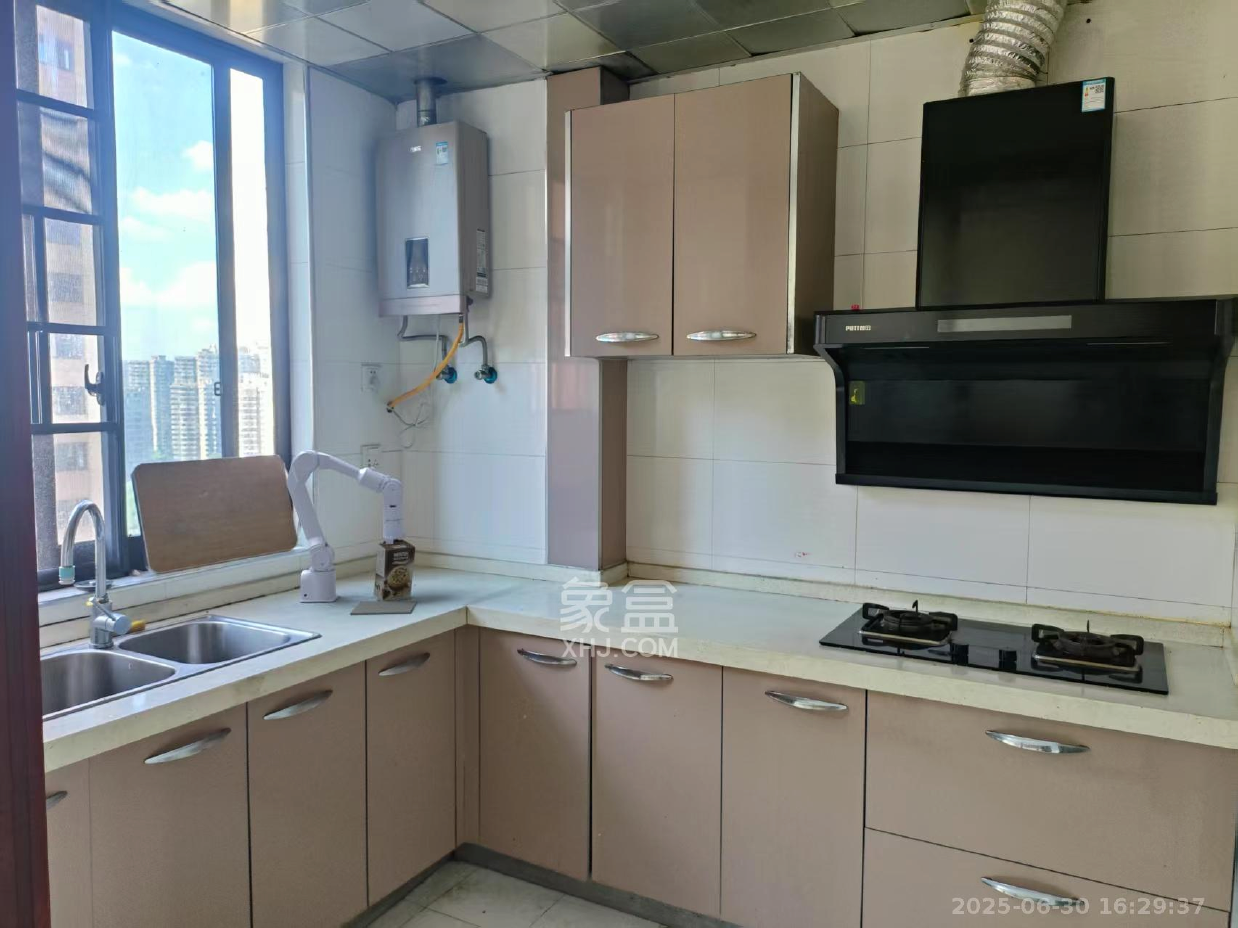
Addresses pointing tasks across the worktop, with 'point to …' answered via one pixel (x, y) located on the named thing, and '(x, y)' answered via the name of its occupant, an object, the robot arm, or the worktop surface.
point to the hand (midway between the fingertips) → (393, 564)
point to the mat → (384, 607)
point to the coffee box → (394, 571)
